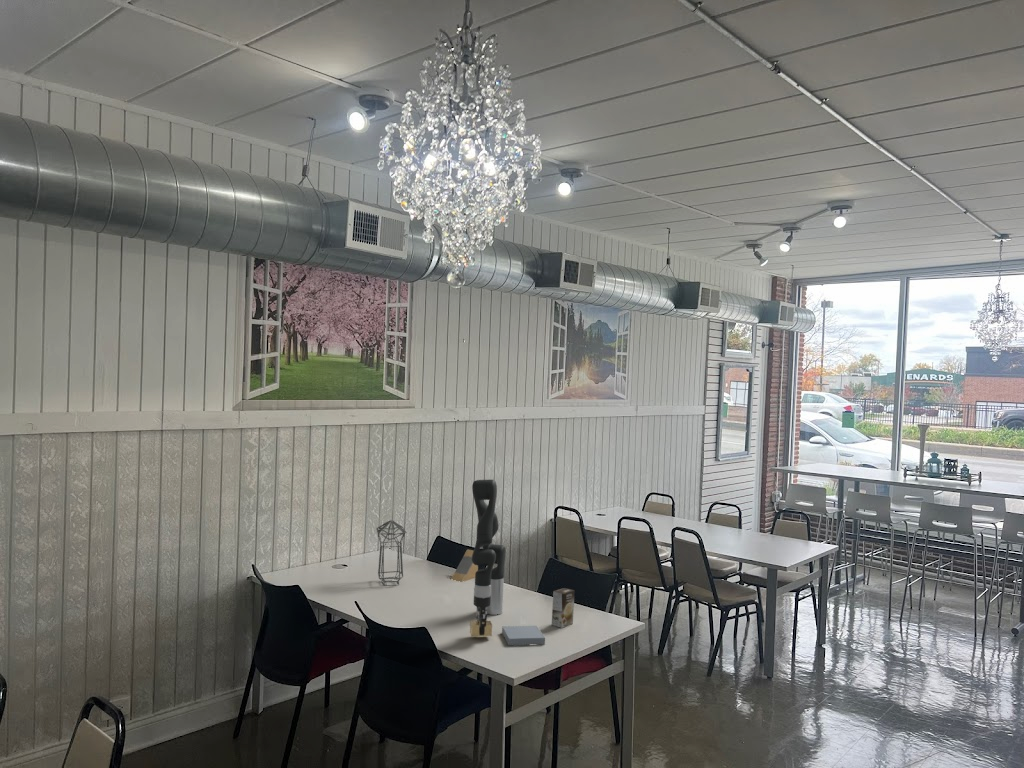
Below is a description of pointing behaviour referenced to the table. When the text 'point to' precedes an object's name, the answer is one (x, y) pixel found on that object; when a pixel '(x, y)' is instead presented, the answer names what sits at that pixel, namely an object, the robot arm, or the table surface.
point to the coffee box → (563, 607)
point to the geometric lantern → (390, 546)
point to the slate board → (523, 635)
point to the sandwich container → (465, 568)
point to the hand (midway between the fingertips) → (480, 632)
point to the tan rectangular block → (475, 627)
